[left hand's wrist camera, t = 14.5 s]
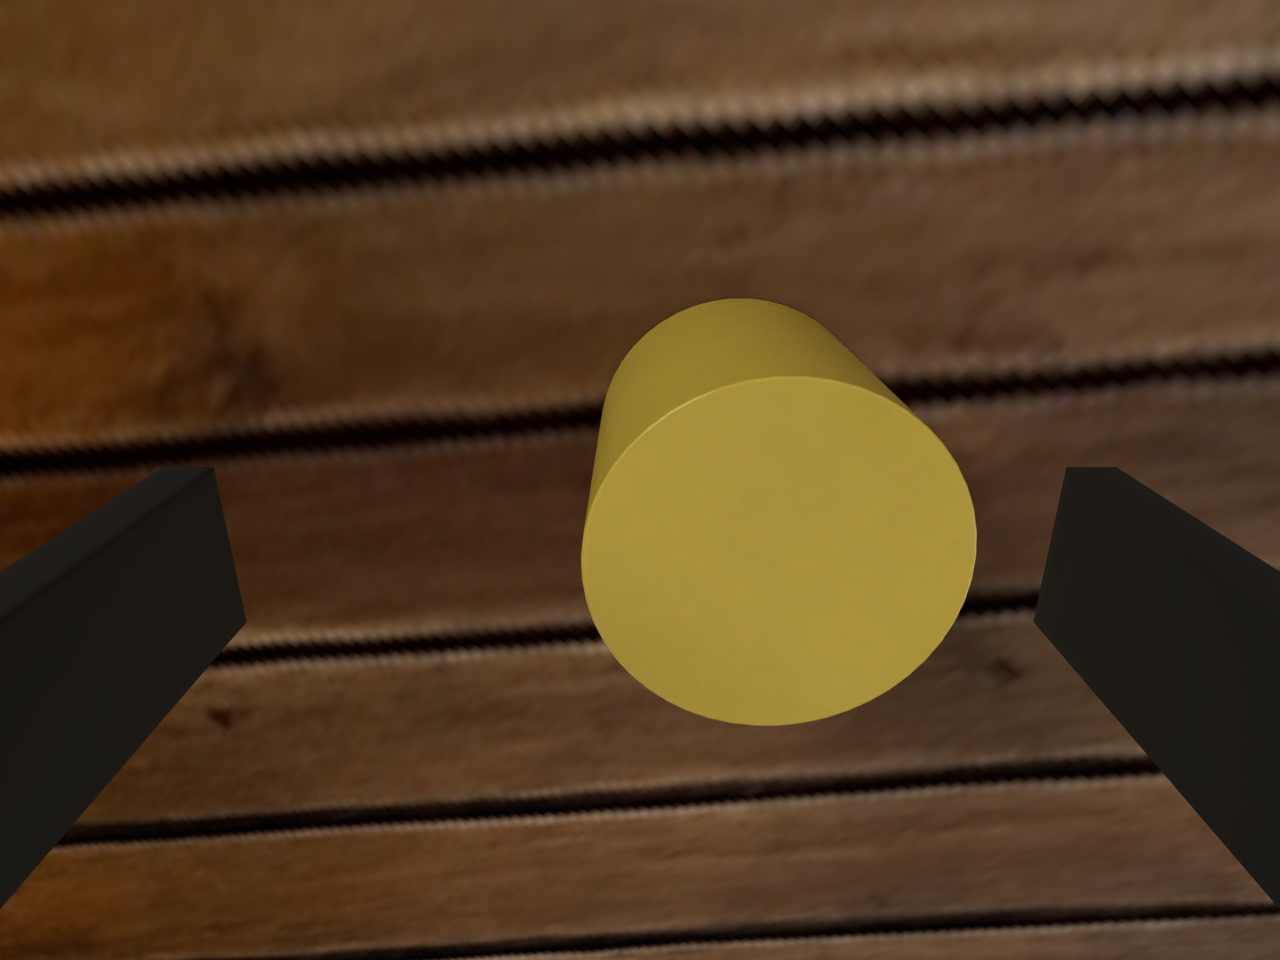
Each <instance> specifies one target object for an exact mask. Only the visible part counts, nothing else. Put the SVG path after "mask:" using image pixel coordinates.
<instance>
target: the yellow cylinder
mask: <svg viewBox="0 0 1280 960" xmlns="http://www.w3.org/2000/svg"><path fill="white" fill-rule="evenodd" d="M976 541H977V530H976V522H975V513H974V507H973V504H972V500H971V497H970V493H969V490H968V486H967V484H966V482H965V480H964V478H963V475H962V473H961V471H960V469H959V467H958V465H957V463H956V462H955V460H954V459H953V457H952V456H951V454H950V453H949V451H948V450H947V448H946V447H945V445H944V444H943V443H942V442H941V440H940V439H939V438H938V437H937V436H936V435H935V434H934V433H933V432H932V431H931V430H930V428H929V427H928V426H927V425H926V424H925V423H924V422H923V421H922V420H921V419H919V418H918V417H917V416H916V415H915V414H914V413H913V412H912V411H911V410H910V409H909V408H908V407H907V406H906V405H905V404H904V403H903V402H902V401H901V400H900V399H899V398H898V397H897V396H896V395H895V394H894V393H892V392H891V391H890V390H889V389H888V388H887V387H886V386H885V385H884V384H883V383H882V382H881V381H880V380H879V379H878V378H877V377H876V376H875V375H874V374H873V373H872V372H871V371H870V370H869V369H868V368H867V367H866V366H864V365H863V364H862V363H861V362H860V361H859V360H858V359H857V358H856V357H855V356H854V355H853V354H852V353H851V352H850V351H849V350H848V349H847V348H846V347H845V346H844V345H843V344H842V343H841V342H840V341H839V340H838V339H836V338H835V337H834V336H833V335H832V334H831V333H830V332H829V331H828V330H826V329H825V328H824V327H823V326H822V325H820V324H819V323H818V322H816V321H815V320H813V319H811V318H810V317H808V316H806V315H805V314H803V313H801V312H799V311H797V310H794V309H792V308H789V307H787V306H785V305H781V304H777V303H773V302H770V301H764V300H757V299H724V300H717V301H711V302H707V303H703V304H700V305H696V306H693V307H691V308H688V309H686V310H683V311H681V312H679V313H676V314H675V315H673V316H671V317H669V318H668V319H666V320H664V321H663V322H661V323H660V324H658V325H657V326H656V327H654V328H653V329H652V330H650V331H649V332H648V333H647V334H645V335H644V336H643V337H642V338H641V339H640V340H639V341H638V342H637V343H636V344H635V345H634V346H633V348H632V349H631V350H630V352H629V353H628V354H627V356H626V357H625V358H624V359H623V361H622V362H621V364H620V366H619V368H618V369H617V371H616V373H615V375H614V377H613V379H612V382H611V384H610V386H609V389H608V391H607V395H606V399H605V403H604V407H603V412H602V418H601V425H600V431H599V437H598V444H597V450H596V457H595V463H594V470H593V476H592V482H591V489H590V495H589V502H588V508H587V514H586V521H585V527H584V534H583V543H582V552H581V567H582V581H583V587H584V592H585V597H586V602H587V605H588V607H589V610H590V613H591V616H592V619H593V622H594V624H595V626H596V628H597V629H598V631H599V633H600V635H601V637H602V639H603V641H604V642H605V644H606V645H607V647H608V648H609V649H610V651H611V652H612V654H613V655H614V656H615V658H616V659H617V660H618V661H619V662H620V664H621V665H622V666H623V667H624V668H625V669H626V670H627V671H628V672H629V673H630V674H631V675H632V676H633V677H634V678H635V679H637V680H638V681H639V682H640V683H641V684H643V685H644V686H645V687H646V688H648V689H649V690H650V691H652V692H654V693H655V694H657V695H658V696H660V697H661V698H663V699H665V700H666V701H668V702H670V703H672V704H674V705H676V706H678V707H681V708H683V709H685V710H687V711H689V712H692V713H695V714H698V715H701V716H704V717H707V718H711V719H715V720H720V721H724V722H729V723H735V724H745V725H754V726H779V725H788V724H798V723H805V722H809V721H814V720H819V719H823V718H827V717H830V716H833V715H836V714H839V713H843V712H846V711H849V710H851V709H853V708H855V707H857V706H860V705H862V704H864V703H866V702H869V701H871V700H872V699H874V698H876V697H878V696H879V695H881V694H883V693H884V692H886V691H888V690H890V689H891V688H892V687H894V686H895V685H897V684H898V683H899V682H901V681H902V680H903V679H905V678H906V677H907V676H909V675H910V674H911V673H912V672H913V671H914V670H915V669H916V668H917V667H919V666H920V665H921V664H922V663H923V662H924V661H925V660H926V659H927V658H928V657H929V656H930V654H931V653H932V652H933V651H934V650H935V649H936V647H937V646H938V645H939V644H940V643H941V641H942V640H943V639H944V637H945V635H946V634H947V632H948V631H949V629H950V628H951V626H952V625H953V623H954V622H955V620H956V618H957V616H958V614H959V612H960V610H961V607H962V605H963V603H964V601H965V599H966V595H967V592H968V589H969V586H970V583H971V580H972V576H973V570H974V565H975V559H976Z"/></svg>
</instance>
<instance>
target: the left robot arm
mask: <svg viewBox="0 0 1280 960" xmlns="http://www.w3.org/2000/svg"><path fill="white" fill-rule="evenodd" d="M245 623H246V617H245V613H244V608H243V603H242V599H241V594H240V589H239V585H238V580H237V575H236V571H235V566H234V561H233V557H232V552H231V547H230V542H229V538H228V533H227V528H226V524H225V519H224V514H223V510H222V505H221V500H220V496H219V491H218V486H217V482H216V477H215V472H214V467H163V468H162V469H160V470H159V471H157V472H156V473H154V474H152V475H151V476H149V477H148V478H146V479H145V480H143V481H142V482H140V483H138V484H137V485H135V486H134V487H132V488H131V489H129V490H127V491H126V492H124V493H123V494H121V495H120V496H118V497H116V498H115V499H113V500H112V501H110V502H109V503H107V504H106V505H104V506H102V507H101V508H99V509H98V510H96V511H95V512H93V513H91V514H90V515H88V516H87V517H85V518H84V519H82V520H80V521H79V522H77V523H76V524H74V525H73V526H71V527H70V528H68V529H66V530H65V531H63V532H62V533H60V534H59V535H57V536H55V537H54V538H52V539H51V540H49V541H48V542H46V543H45V544H43V545H41V546H40V547H38V548H37V549H35V550H34V551H32V552H30V553H29V554H27V555H26V556H24V557H23V558H21V559H19V560H18V561H16V562H15V563H13V564H12V565H10V566H9V567H7V568H5V569H4V570H2V571H1V572H0V909H1V907H2V906H3V905H4V904H5V903H6V902H7V900H8V899H9V898H10V897H11V896H12V895H13V893H14V892H15V891H16V890H17V889H18V888H19V887H20V885H21V884H22V883H23V882H24V881H25V880H26V878H27V877H28V876H29V875H30V874H31V873H32V871H33V870H34V869H35V868H36V867H37V866H38V864H39V863H40V862H41V861H42V860H43V859H44V857H45V856H46V855H47V854H48V853H49V852H50V850H51V849H52V848H53V847H54V846H55V845H56V843H57V842H58V841H59V840H60V839H61V838H62V836H63V835H64V834H65V833H66V832H67V831H68V829H69V828H70V827H71V826H72V825H73V824H74V822H75V821H76V820H77V819H78V818H79V817H80V815H81V814H82V813H83V812H84V811H85V810H86V808H87V807H88V806H89V805H90V804H91V803H92V801H93V800H94V799H95V798H96V797H97V796H98V794H99V793H100V792H101V791H102V790H103V789H104V787H105V786H106V785H107V784H108V783H109V782H110V780H111V779H112V778H113V777H114V776H115V775H116V773H117V772H118V771H119V770H120V769H121V768H122V766H123V765H124V764H125V763H126V762H127V761H128V759H129V758H130V757H131V756H132V755H133V754H134V752H135V751H136V750H137V749H138V748H139V747H140V745H141V744H142V743H143V742H144V741H145V740H146V738H147V737H148V736H149V735H150V734H151V733H152V731H153V730H154V729H155V728H156V727H157V726H158V724H159V723H160V722H161V721H162V720H163V719H164V717H165V716H166V715H167V714H168V713H169V712H170V710H171V709H172V708H173V707H174V706H175V705H176V703H177V702H178V701H179V700H180V699H181V698H182V696H183V695H184V694H185V693H186V692H187V691H188V689H189V688H190V687H191V686H192V685H193V684H194V682H195V681H196V680H197V679H198V678H199V677H200V675H201V674H202V673H203V672H204V671H205V670H206V668H207V667H208V666H209V665H210V664H211V663H212V661H213V660H214V659H215V658H216V657H217V656H218V654H219V653H220V652H221V651H222V650H223V649H224V647H225V646H226V645H227V644H228V643H229V642H230V640H231V639H232V638H233V637H234V636H235V635H236V633H237V632H238V631H239V630H240V629H241V628H242V626H243V625H244V624H245ZM1034 623H1035V624H1036V625H1037V626H1038V628H1039V629H1040V630H1041V631H1042V632H1043V633H1044V635H1045V636H1046V637H1047V638H1048V639H1049V640H1050V642H1051V643H1052V644H1053V645H1054V646H1055V647H1056V649H1057V650H1058V651H1059V652H1060V653H1061V654H1062V656H1063V657H1064V658H1065V659H1066V660H1067V661H1068V663H1069V664H1070V665H1071V666H1072V667H1073V668H1074V670H1075V671H1076V672H1077V673H1078V674H1079V675H1080V677H1081V678H1082V679H1083V680H1084V681H1085V682H1086V684H1087V685H1088V686H1089V687H1090V688H1091V689H1092V691H1093V692H1094V693H1095V694H1096V695H1097V696H1098V698H1099V699H1100V700H1101V701H1102V702H1103V703H1104V705H1105V706H1106V707H1107V708H1108V709H1109V710H1110V712H1111V713H1112V714H1113V715H1114V716H1115V717H1116V719H1117V720H1118V721H1119V722H1120V723H1121V724H1122V726H1123V727H1124V728H1125V729H1126V730H1127V731H1128V733H1129V734H1130V735H1131V736H1132V737H1133V738H1134V740H1135V741H1136V742H1137V743H1138V744H1139V745H1140V747H1141V748H1142V749H1143V750H1144V751H1145V752H1146V754H1147V755H1148V756H1149V757H1150V758H1151V759H1152V761H1153V762H1154V763H1155V764H1156V765H1157V766H1158V768H1159V769H1160V770H1161V771H1162V772H1163V773H1164V775H1165V776H1166V777H1167V778H1168V779H1169V780H1170V782H1171V783H1172V784H1173V785H1174V786H1175V787H1176V789H1177V790H1178V791H1179V792H1180V793H1181V794H1182V796H1183V797H1184V798H1185V799H1186V800H1187V801H1188V803H1189V804H1190V805H1191V806H1192V807H1193V808H1194V810H1195V811H1196V812H1197V813H1198V814H1199V815H1200V817H1201V818H1202V819H1203V820H1204V821H1205V822H1206V824H1207V825H1208V826H1209V827H1210V828H1211V829H1212V831H1213V832H1214V833H1215V834H1216V835H1217V836H1218V838H1219V839H1220V840H1221V841H1222V842H1223V843H1224V845H1225V846H1226V847H1227V848H1228V849H1229V850H1230V852H1231V853H1232V854H1233V855H1234V856H1235V857H1236V859H1237V860H1238V861H1239V862H1240V863H1241V864H1242V866H1243V867H1244V868H1245V869H1246V870H1247V871H1248V873H1249V874H1250V875H1251V876H1252V877H1253V878H1254V880H1255V881H1256V882H1257V883H1258V884H1259V885H1260V887H1261V888H1262V889H1263V890H1264V891H1265V892H1266V893H1267V895H1268V896H1269V897H1270V898H1271V899H1272V900H1273V902H1274V903H1275V904H1276V905H1277V906H1278V907H1279V909H1280V572H1279V571H1278V570H1276V569H1275V568H1273V567H1271V566H1270V565H1268V564H1267V563H1265V562H1264V561H1262V560H1261V559H1259V558H1257V557H1256V556H1254V555H1253V554H1251V553H1250V552H1248V551H1246V550H1245V549H1243V548H1242V547H1240V546H1239V545H1237V544H1235V543H1234V542H1232V541H1231V540H1229V539H1228V538H1226V537H1225V536H1223V535H1221V534H1220V533H1218V532H1217V531H1215V530H1214V529H1212V528H1210V527H1209V526H1207V525H1206V524H1204V523H1203V522H1201V521H1200V520H1198V519H1196V518H1195V517H1193V516H1192V515H1190V514H1189V513H1187V512H1185V511H1184V510H1182V509H1181V508H1179V507H1178V506H1176V505H1174V504H1173V503H1171V502H1170V501H1168V500H1167V499H1165V498H1164V497H1162V496H1160V495H1159V494H1157V493H1156V492H1154V491H1153V490H1151V489H1149V488H1148V487H1146V486H1145V485H1143V484H1142V483H1140V482H1138V481H1137V480H1135V479H1134V478H1132V477H1131V476H1129V475H1128V474H1126V473H1124V472H1123V471H1121V470H1120V469H1118V468H1117V467H1066V472H1065V477H1064V482H1063V486H1062V491H1061V496H1060V500H1059V505H1058V510H1057V514H1056V519H1055V524H1054V528H1053V533H1052V538H1051V542H1050V547H1049V552H1048V557H1047V561H1046V566H1045V571H1044V575H1043V580H1042V585H1041V589H1040V594H1039V599H1038V603H1037V608H1036V613H1035V617H1034Z"/></svg>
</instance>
